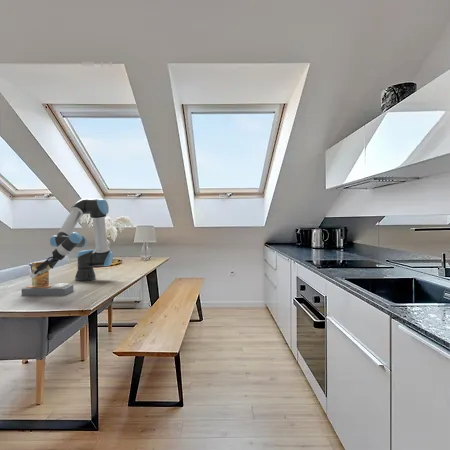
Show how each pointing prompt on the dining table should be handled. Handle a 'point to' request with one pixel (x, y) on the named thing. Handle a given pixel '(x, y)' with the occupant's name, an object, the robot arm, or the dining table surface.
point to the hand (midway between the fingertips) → (36, 275)
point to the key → (40, 286)
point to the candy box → (40, 275)
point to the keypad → (49, 290)
